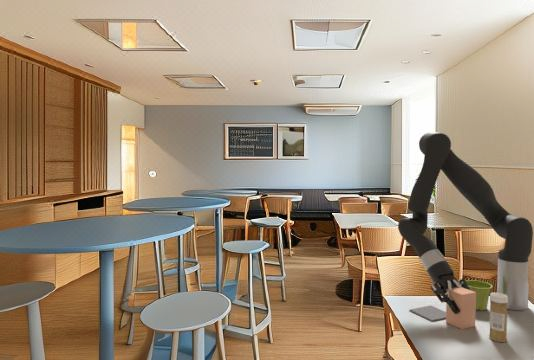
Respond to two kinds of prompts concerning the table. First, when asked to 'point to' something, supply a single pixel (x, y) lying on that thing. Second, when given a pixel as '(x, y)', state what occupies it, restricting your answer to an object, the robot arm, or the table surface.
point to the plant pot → (480, 292)
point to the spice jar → (498, 316)
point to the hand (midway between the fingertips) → (465, 311)
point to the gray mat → (430, 313)
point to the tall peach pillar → (462, 308)
